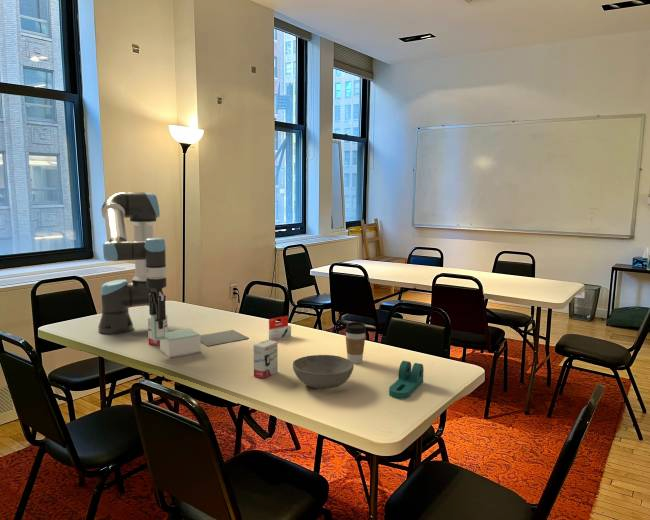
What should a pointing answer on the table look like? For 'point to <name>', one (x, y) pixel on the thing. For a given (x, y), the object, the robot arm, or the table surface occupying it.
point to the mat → (221, 338)
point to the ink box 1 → (150, 331)
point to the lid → (170, 335)
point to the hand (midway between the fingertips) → (158, 334)
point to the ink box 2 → (265, 358)
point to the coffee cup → (355, 341)
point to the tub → (180, 346)
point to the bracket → (407, 380)
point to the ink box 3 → (279, 328)
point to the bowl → (323, 370)
